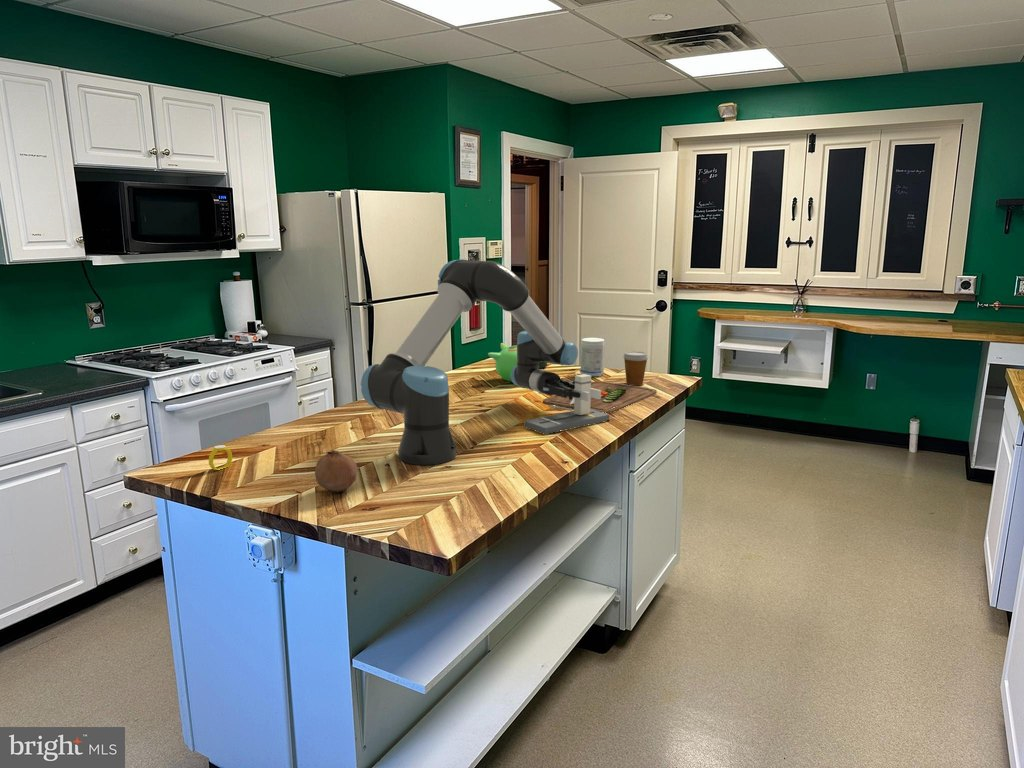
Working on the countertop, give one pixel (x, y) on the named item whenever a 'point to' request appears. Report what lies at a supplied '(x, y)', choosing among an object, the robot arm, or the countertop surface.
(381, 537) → the countertop surface
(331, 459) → the onion
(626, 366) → the disposable coffee cup
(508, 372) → the green rounded body
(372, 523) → the countertop surface
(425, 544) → the countertop surface
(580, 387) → the fader knob
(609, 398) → the chopping board
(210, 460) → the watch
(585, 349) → the supplement tub
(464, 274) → the robot arm
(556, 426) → the fader console
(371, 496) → the countertop surface
